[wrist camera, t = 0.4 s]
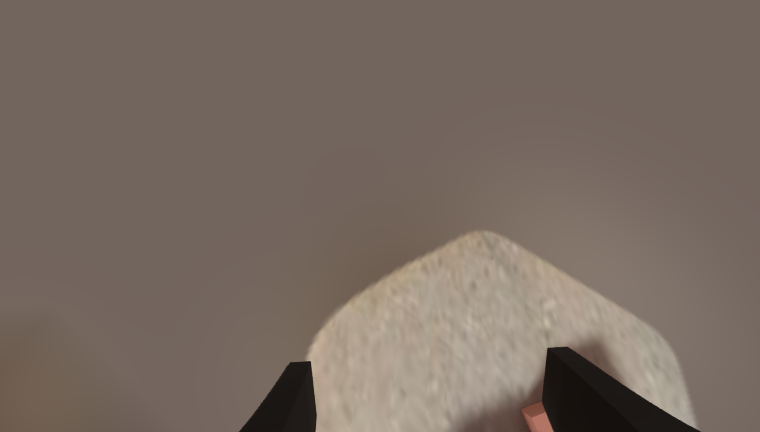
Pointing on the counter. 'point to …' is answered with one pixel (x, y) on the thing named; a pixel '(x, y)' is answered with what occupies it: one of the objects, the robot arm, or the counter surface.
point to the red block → (536, 418)
